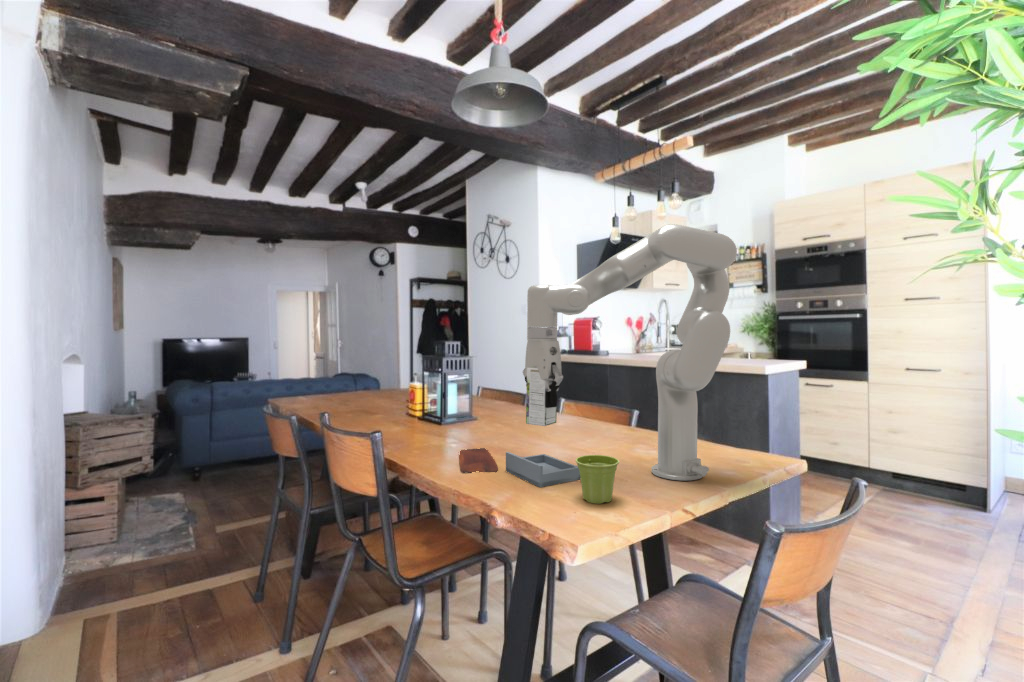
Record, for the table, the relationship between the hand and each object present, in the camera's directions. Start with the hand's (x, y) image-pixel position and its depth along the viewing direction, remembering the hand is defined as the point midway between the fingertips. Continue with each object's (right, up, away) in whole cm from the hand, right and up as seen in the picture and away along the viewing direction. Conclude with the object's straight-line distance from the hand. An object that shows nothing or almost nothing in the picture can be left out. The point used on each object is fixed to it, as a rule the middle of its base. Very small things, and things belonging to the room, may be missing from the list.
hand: (541, 404), depth 128 cm
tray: (0, -18, +1) cm, 18 cm away
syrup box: (0, -5, 0) cm, 5 cm away
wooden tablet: (-17, -18, +16) cm, 30 cm away
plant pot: (+11, -19, -17) cm, 28 cm away
